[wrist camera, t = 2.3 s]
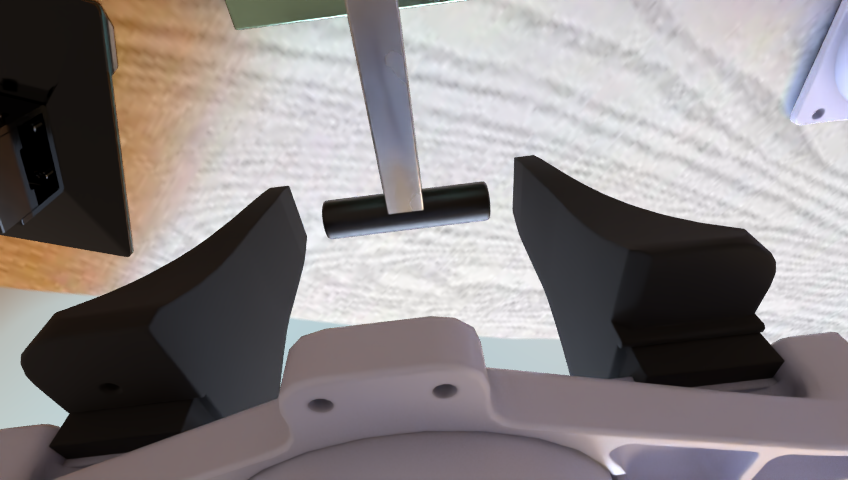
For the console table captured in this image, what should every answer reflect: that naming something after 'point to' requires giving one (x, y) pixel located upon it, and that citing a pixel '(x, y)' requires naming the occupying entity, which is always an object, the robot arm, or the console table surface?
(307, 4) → the bracket
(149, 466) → the robot arm
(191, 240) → the console table surface
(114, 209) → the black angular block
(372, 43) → the lever
